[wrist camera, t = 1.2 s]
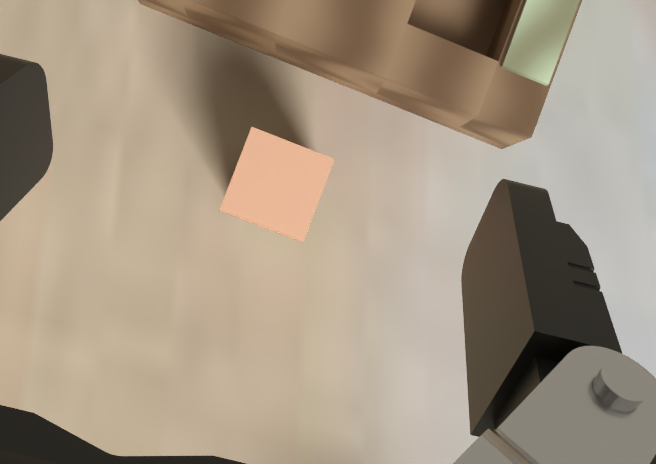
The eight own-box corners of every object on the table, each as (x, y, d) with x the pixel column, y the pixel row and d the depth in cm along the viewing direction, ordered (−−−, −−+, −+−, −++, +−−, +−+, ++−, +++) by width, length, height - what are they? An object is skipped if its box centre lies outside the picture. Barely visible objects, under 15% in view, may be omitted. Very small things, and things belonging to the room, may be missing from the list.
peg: (236, 217, 37) (219, 210, 27) (260, 156, 37) (251, 126, 27) (297, 240, 37) (303, 242, 27) (320, 179, 37) (334, 159, 27)
